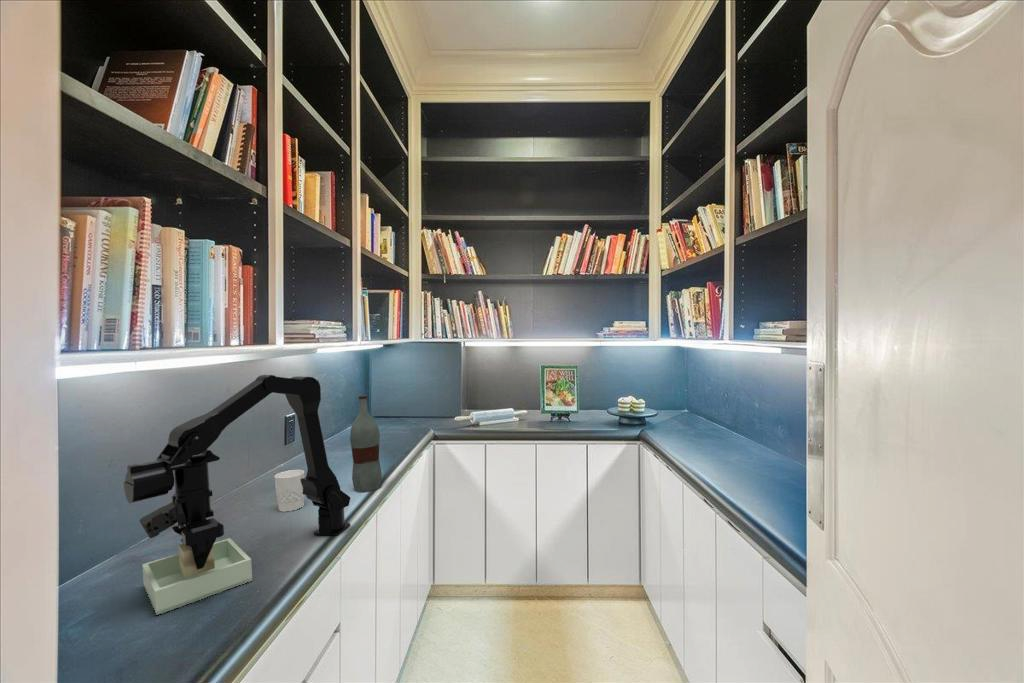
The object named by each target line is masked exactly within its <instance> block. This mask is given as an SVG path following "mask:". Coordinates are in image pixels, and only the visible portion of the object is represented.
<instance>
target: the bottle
mask: <svg viewBox="0 0 1024 683" xmlns="http://www.w3.org/2000/svg"><path fill="white" fill-rule="evenodd" d="M358 410H359V411H358V414H357V416H356V418H355V419H354V421H353V423H352V425H351V428H350V434H349V443H350V446H351V455H352V473H351V474H352V475H351V481H352V486H353V489H354V491H355V492H357V493H368V492H367V491H369V492H374V491H376V490H378V489H380V488H381V485H382V475H383V473H382V468H381V463H380V441H381V440H380V439H381V438H380V430H379V426H378V423H377V422H376V420H375V419H374V418H373V417H372V415H371V414H370V413H369V409H368V395H367V394H359V395H358Z"/></svg>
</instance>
